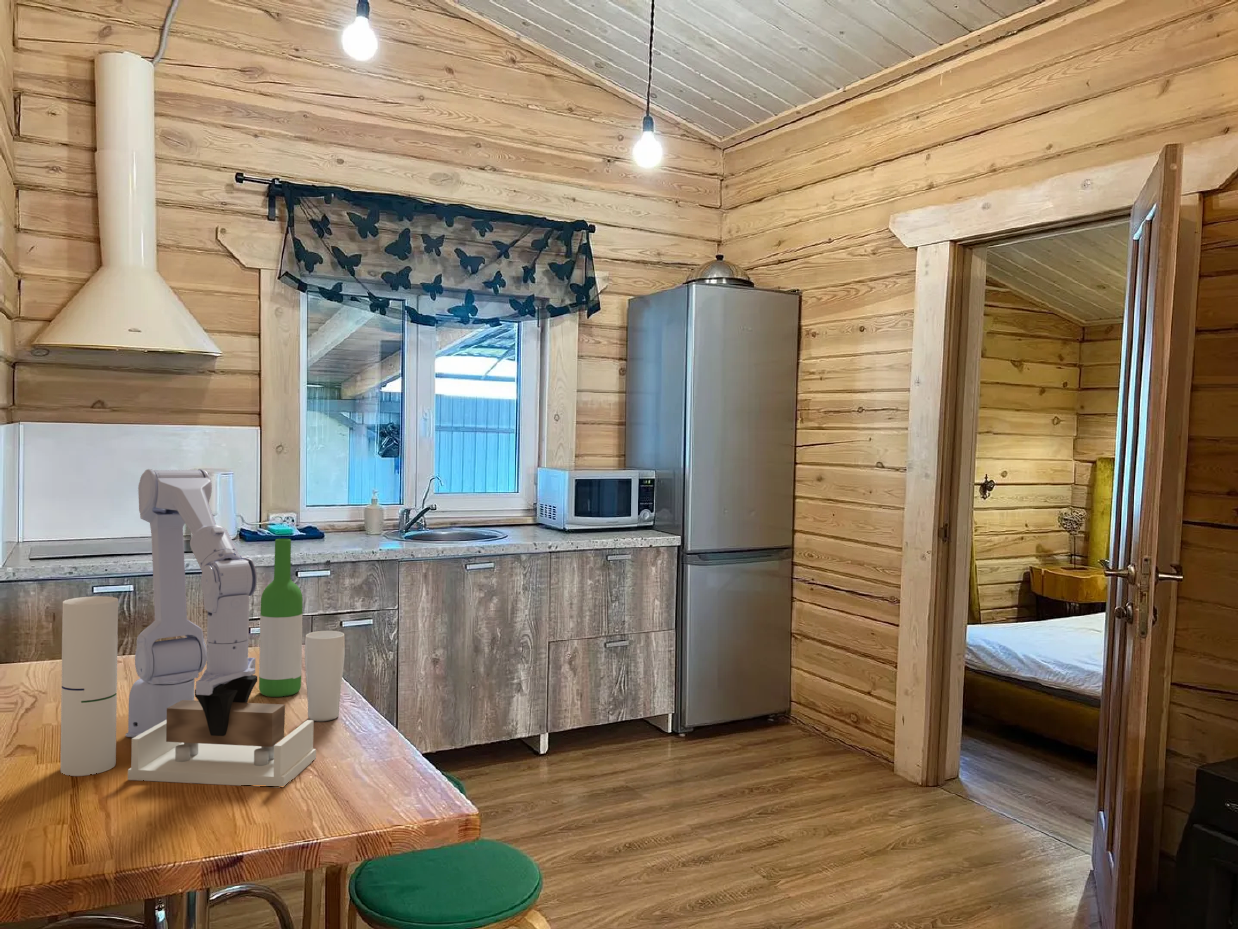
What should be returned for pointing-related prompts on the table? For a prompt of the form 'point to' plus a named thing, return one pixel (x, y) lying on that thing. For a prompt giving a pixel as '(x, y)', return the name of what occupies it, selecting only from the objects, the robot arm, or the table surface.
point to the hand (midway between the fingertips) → (226, 729)
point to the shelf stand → (220, 759)
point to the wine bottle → (281, 629)
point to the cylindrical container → (89, 685)
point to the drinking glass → (324, 673)
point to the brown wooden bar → (244, 727)
